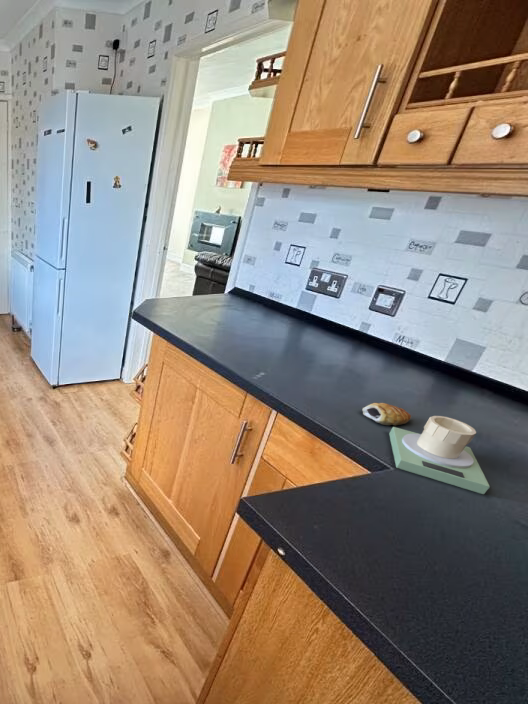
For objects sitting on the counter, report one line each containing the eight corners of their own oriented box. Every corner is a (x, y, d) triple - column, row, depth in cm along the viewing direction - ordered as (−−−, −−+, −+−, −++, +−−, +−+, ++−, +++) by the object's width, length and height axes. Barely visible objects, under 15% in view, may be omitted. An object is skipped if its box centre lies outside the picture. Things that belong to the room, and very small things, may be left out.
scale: (465, 454, 89) (471, 445, 87) (483, 494, 78) (492, 484, 76) (388, 433, 95) (394, 424, 94) (396, 467, 84) (402, 457, 83)
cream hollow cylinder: (455, 446, 87) (471, 423, 84) (462, 463, 82) (480, 438, 79) (413, 435, 90) (427, 412, 87) (418, 450, 85) (433, 426, 82)
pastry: (392, 411, 104) (399, 398, 102) (417, 426, 98) (425, 413, 96) (357, 412, 103) (364, 399, 101) (380, 427, 97) (388, 414, 95)
